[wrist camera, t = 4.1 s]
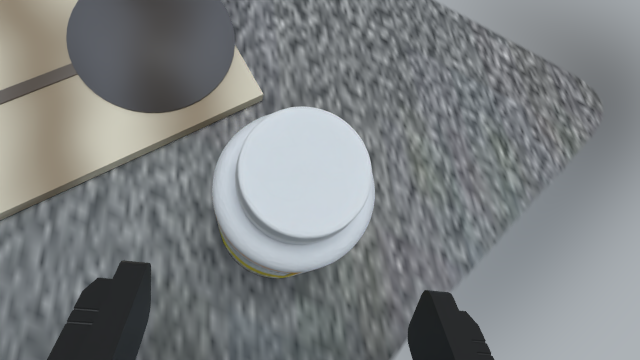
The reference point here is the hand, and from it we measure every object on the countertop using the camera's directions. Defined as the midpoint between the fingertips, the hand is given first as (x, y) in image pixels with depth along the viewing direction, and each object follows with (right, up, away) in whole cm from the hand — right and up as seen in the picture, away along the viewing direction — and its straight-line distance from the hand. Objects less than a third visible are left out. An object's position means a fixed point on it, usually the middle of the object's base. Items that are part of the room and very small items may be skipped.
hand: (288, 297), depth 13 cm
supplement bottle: (-1, +1, +10) cm, 10 cm away
